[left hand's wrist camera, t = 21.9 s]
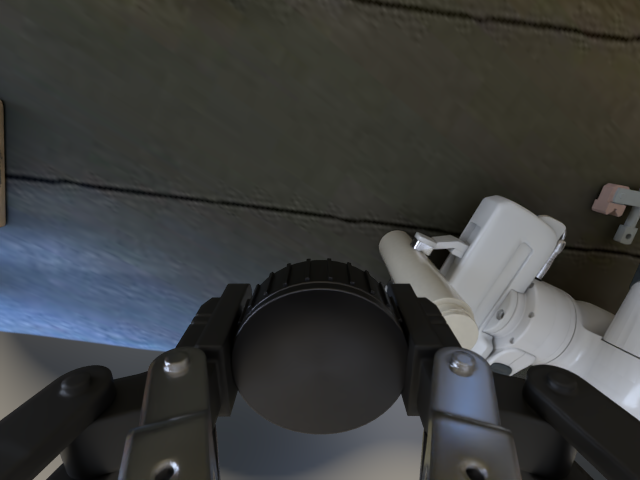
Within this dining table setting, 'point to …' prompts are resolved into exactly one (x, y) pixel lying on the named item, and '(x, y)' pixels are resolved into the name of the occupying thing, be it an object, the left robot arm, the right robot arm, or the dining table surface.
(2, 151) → the pounding bench toy
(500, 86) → the dining table surface
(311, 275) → the lid
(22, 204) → the dining table surface
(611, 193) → the clamp
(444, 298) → the white cylindrical bottle
